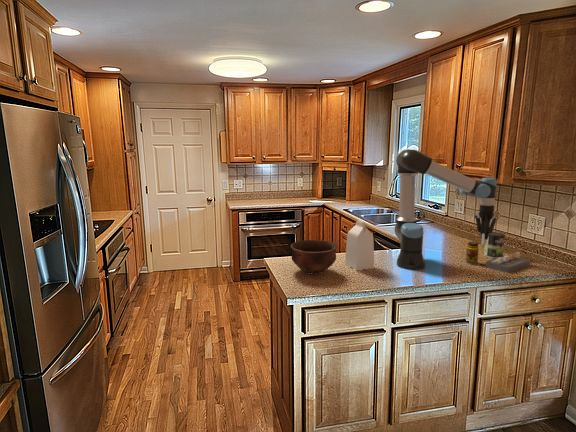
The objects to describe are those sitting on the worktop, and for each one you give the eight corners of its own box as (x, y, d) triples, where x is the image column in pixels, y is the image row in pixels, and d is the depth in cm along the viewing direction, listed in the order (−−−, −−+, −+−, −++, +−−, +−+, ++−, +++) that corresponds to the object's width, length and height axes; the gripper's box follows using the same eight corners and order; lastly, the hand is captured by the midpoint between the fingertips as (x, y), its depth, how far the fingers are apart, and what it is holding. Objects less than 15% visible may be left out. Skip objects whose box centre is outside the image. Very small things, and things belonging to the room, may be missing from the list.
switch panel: (507, 272, 197) (508, 267, 197) (485, 266, 207) (485, 261, 207) (530, 264, 210) (530, 259, 209) (508, 259, 220) (508, 254, 219)
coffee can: (507, 257, 224) (509, 234, 221) (493, 259, 221) (495, 236, 218) (493, 253, 233) (495, 231, 231) (479, 254, 231) (481, 232, 228)
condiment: (467, 264, 211) (469, 244, 209) (461, 260, 220) (463, 240, 218) (480, 265, 211) (482, 244, 209) (474, 260, 219) (476, 240, 217)
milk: (345, 264, 214) (345, 220, 209) (362, 262, 218) (363, 218, 213) (356, 270, 203) (357, 224, 198) (374, 268, 207) (375, 222, 202)
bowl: (287, 278, 192) (287, 250, 189) (293, 264, 216) (293, 238, 213) (336, 280, 188) (336, 251, 186) (336, 265, 213) (337, 239, 210)
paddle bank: (499, 264, 202) (500, 258, 201) (496, 263, 203) (497, 258, 202) (519, 257, 213) (520, 252, 212) (517, 257, 214) (517, 252, 213)
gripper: (502, 205, 211) (498, 245, 216) (480, 202, 222) (476, 241, 226) (494, 206, 207) (490, 247, 212) (472, 203, 218) (469, 242, 223)
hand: (483, 244), depth 219 cm, fingers closed
